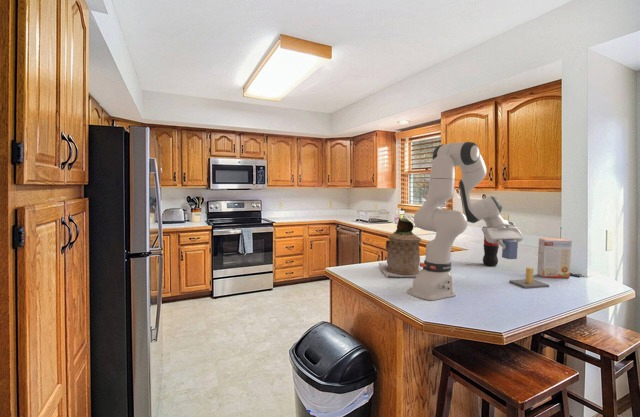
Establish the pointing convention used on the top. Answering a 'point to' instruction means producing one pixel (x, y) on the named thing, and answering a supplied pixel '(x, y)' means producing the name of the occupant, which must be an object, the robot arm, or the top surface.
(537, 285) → the marker stand
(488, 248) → the cola bottle
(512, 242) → the blue rectangular block
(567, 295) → the top surface
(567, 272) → the cracker box
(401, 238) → the cookie jar
